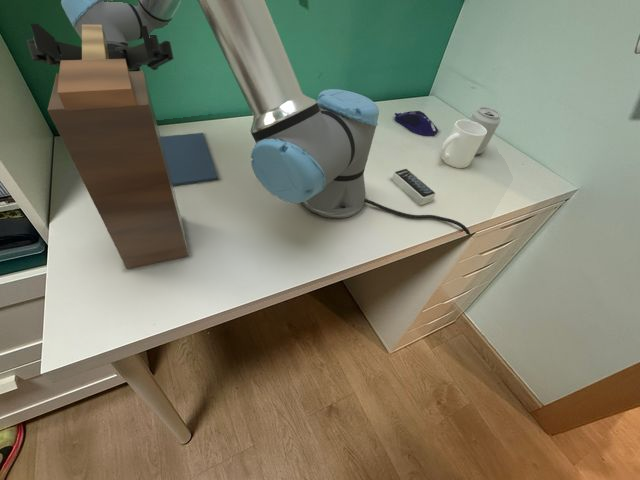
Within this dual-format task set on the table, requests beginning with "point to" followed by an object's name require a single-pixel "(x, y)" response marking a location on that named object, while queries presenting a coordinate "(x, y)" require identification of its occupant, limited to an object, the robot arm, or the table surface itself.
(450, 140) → the mug
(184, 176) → the mat
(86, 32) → the paddle
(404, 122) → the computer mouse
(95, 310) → the table surface
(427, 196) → the multiport hub
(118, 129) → the plinth
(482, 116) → the can
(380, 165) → the table surface
